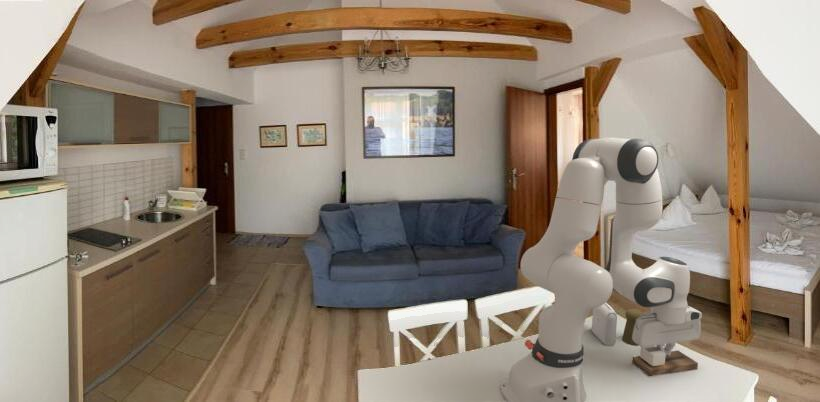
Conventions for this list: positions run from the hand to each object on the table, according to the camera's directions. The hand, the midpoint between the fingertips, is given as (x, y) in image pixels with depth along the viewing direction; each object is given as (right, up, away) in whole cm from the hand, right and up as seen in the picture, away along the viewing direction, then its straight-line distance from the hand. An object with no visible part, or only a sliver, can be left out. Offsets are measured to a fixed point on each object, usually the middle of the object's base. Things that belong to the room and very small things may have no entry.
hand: (663, 355), depth 120 cm
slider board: (+1, -4, +1) cm, 4 cm away
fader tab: (-4, -1, 0) cm, 4 cm away
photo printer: (-10, -1, +17) cm, 20 cm away
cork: (-1, -1, +15) cm, 15 cm away
